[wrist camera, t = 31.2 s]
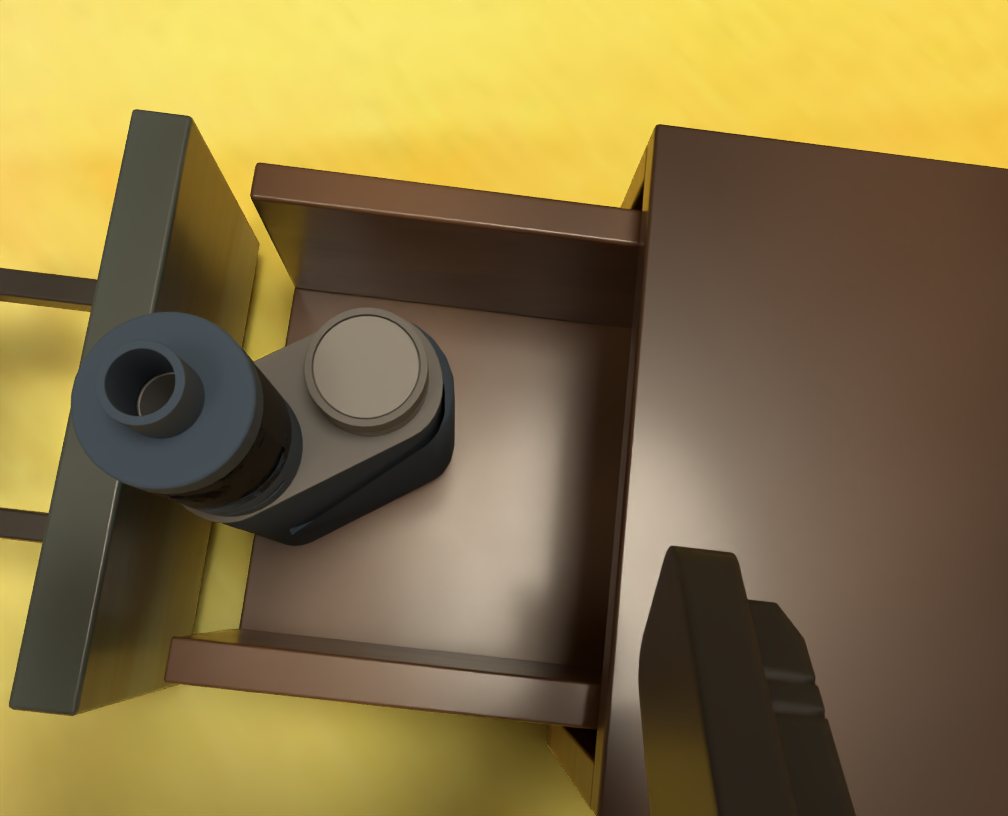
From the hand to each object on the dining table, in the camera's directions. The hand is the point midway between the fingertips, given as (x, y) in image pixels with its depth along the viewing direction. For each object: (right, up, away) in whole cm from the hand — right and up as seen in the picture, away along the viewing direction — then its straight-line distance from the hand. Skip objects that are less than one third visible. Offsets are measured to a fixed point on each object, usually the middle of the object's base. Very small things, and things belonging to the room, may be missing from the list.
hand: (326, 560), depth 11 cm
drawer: (-2, 0, +13) cm, 13 cm away
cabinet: (+12, -2, +14) cm, 18 cm away
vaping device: (-2, 0, +12) cm, 12 cm away
